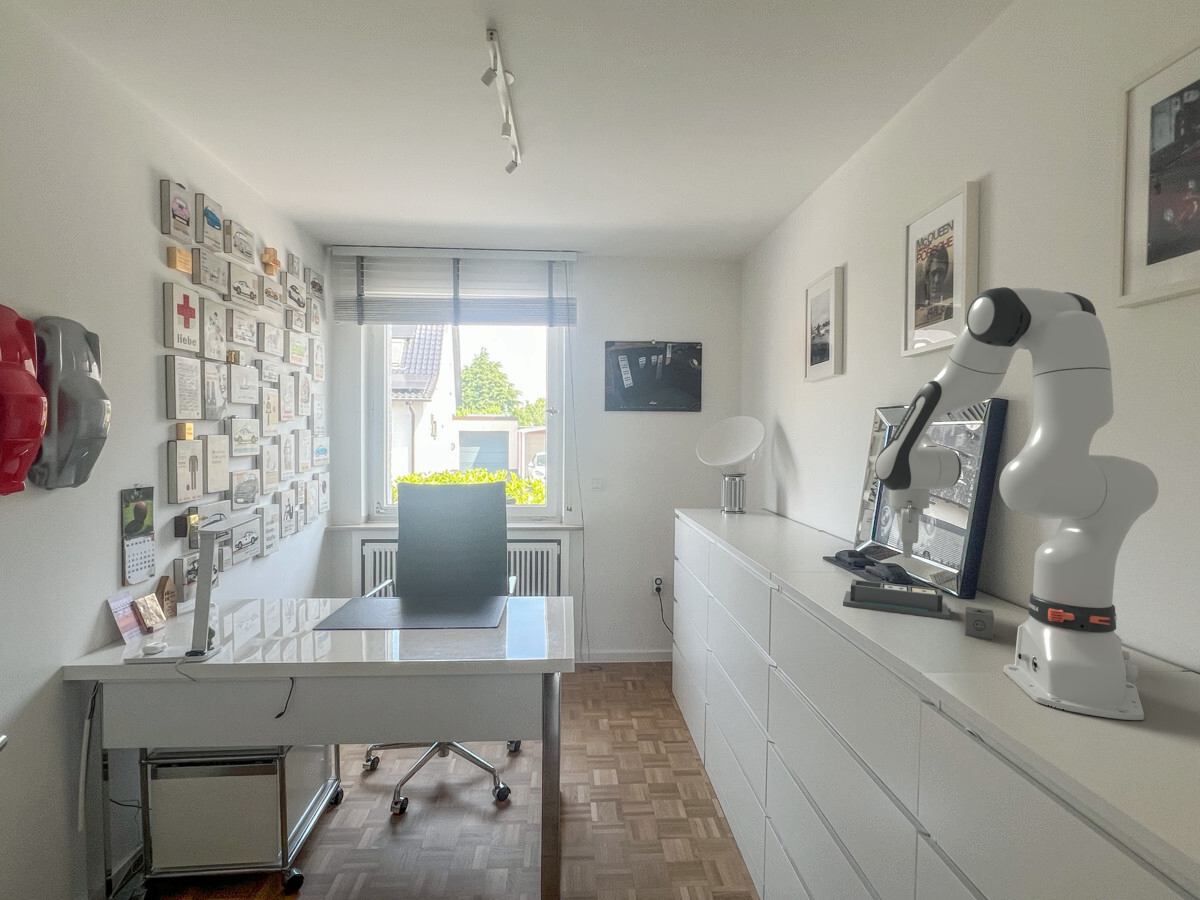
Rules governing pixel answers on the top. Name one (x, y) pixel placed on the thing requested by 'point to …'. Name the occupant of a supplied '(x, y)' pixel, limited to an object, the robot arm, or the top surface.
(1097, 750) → the top surface
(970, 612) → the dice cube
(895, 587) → the grey key
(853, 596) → the grey slotted tray
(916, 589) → the sand key
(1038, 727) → the top surface
